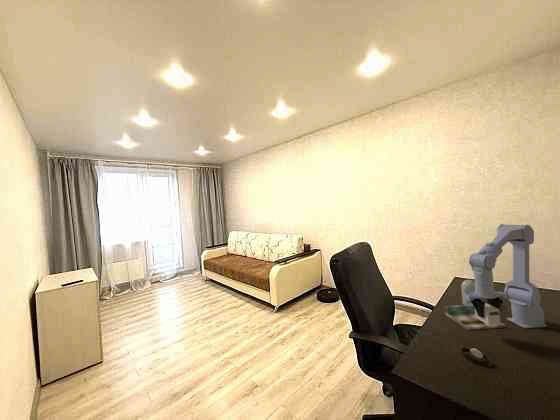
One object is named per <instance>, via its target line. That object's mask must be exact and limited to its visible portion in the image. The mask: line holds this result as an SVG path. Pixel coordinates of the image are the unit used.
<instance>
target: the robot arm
mask: <svg viewBox="0 0 560 420" xmlns="http://www.w3.org/2000/svg"><path fill="white" fill-rule="evenodd" d="M534 241H535V230H534V229H533V227H532V226H531V225H529V224H505V223H501V224H499V225H498V227H497V228H496V235H495V237H494V238H493V239H492V241H491V242H486V243H485V244H484V245H483V246H482V248H480V249H479V251H478V252H475V253H472V254H471V255H469V260H468V263H469V265H470V267H471V271H473V279H474V280H473V281H474V283H475V292H473V293H470V294H465V298H466V299H467V300H469V301H471V303H472V304H473V306H474V307H475V309H476V312H477V314H478V316H479V317H481V318H484V306H485V304H486V303H487V304H489V305H491V306H493V307H495V308H498V309H499V310H500V307H502V305H503V303H504V300H503V299H508V302H510V306H511V316H512V317H506V320H507V321H510V322H512V323H514V324H515V325H517V326H520V327H522V328H524V329H529V328H531V329H533V328H544V327H545V328H546V327H548V325H547V324H545V323H546V322H545V313H544V309H543V307H542V306H541V305H540V304H541V299H542V298H541V297H542V296H541V294H540V289H539V287H537V286H536V285H535V284H534V283H532V282H530V245H532V244H534ZM507 243H510V244H511V245H512V279H511V280H509V281H507V282H506V283H505V288H504V291H495V287H494V285H495V283H494V275H493V269H495V267H496V263H497V259H498V258H499V256H500V255H501V254H502V253H503V247H504V246H505V245H507ZM501 298H502V299H501ZM483 300H486V301H487V302H484V301H483Z"/></svg>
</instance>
